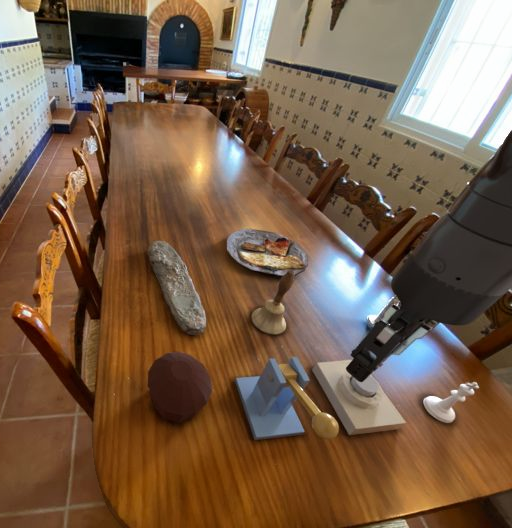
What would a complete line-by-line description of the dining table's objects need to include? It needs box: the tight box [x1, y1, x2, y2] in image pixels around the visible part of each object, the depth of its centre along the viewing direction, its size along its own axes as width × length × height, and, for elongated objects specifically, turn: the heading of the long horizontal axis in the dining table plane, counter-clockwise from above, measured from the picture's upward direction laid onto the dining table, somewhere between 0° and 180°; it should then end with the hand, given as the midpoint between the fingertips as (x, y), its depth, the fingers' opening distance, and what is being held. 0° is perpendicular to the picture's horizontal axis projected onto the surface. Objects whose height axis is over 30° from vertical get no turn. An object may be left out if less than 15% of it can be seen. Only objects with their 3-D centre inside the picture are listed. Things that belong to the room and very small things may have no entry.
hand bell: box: [250, 270, 295, 335], centre depth 68 cm, size 8×8×16 cm
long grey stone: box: [147, 240, 207, 336], centre depth 79 cm, size 35×5×10 cm
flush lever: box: [277, 363, 340, 440], centre depth 45 cm, size 13×3×3 cm, turn 8°
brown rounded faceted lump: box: [147, 351, 213, 424], centre depth 53 cm, size 12×11×10 cm
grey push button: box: [351, 376, 379, 397], centre depth 56 cm, size 4×4×2 cm
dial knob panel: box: [311, 359, 407, 436], centre depth 57 cm, size 13×10×4 cm
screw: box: [365, 294, 400, 330], centre depth 69 cm, size 13×5×5 cm
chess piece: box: [423, 381, 480, 424], centre depth 55 cm, size 5×5×10 cm
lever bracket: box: [234, 356, 311, 441], centre depth 52 cm, size 11×9×13 cm
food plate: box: [226, 228, 309, 277], centre depth 93 cm, size 25×23×4 cm
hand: (372, 360), depth 39 cm, fingers open, 8 cm apart
